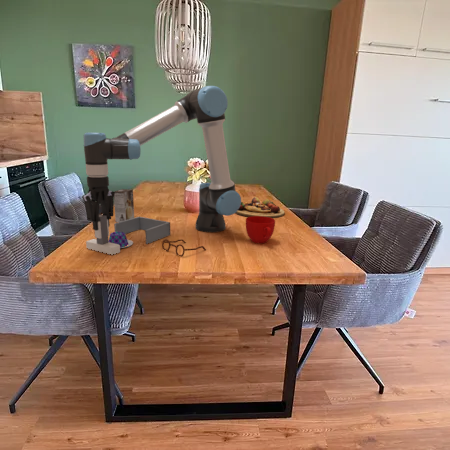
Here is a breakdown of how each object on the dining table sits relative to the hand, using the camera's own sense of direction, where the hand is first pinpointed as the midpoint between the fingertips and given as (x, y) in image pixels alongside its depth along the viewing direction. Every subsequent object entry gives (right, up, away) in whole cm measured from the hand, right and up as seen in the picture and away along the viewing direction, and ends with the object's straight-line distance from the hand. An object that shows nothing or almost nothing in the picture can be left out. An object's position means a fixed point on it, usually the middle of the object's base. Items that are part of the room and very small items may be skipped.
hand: (102, 236), depth 124 cm
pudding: (+3, -4, +9) cm, 10 cm away
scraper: (0, -6, +2) cm, 6 cm away
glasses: (+31, -6, +6) cm, 32 cm away
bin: (+10, 0, +21) cm, 24 cm away
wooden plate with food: (+69, +12, +75) cm, 102 cm away
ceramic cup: (+64, -4, +18) cm, 66 cm away
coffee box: (-5, +7, +46) cm, 47 cm away
